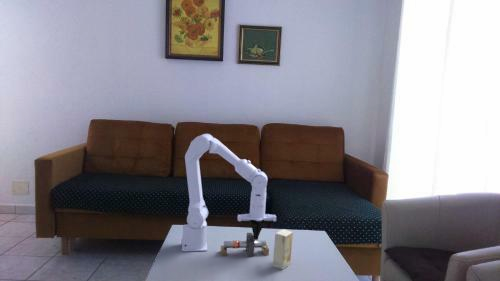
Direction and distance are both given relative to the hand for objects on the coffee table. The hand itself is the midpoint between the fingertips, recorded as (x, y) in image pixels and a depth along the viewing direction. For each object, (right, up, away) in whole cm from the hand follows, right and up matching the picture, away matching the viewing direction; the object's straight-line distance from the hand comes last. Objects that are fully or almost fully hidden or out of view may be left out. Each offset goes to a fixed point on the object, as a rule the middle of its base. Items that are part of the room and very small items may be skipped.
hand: (255, 238), depth 133 cm
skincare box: (+9, -7, -8) cm, 14 cm away
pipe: (-4, -5, 0) cm, 7 cm away
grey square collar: (-2, -6, 0) cm, 6 cm away
